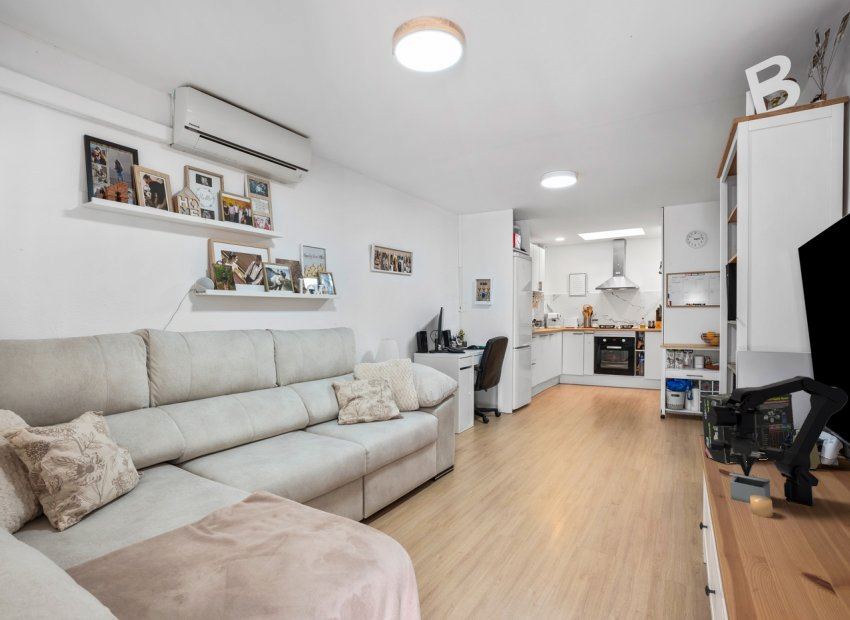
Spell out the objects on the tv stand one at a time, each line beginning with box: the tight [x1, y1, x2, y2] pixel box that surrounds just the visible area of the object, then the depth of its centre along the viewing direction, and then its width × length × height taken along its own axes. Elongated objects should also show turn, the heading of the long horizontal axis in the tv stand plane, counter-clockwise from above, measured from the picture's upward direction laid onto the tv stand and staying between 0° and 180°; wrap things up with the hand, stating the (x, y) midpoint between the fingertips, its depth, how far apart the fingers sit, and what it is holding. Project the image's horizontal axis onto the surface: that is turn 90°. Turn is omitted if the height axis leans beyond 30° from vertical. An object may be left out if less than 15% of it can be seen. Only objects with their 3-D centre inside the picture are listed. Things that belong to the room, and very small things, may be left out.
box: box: [729, 476, 772, 504], centre depth 139 cm, size 9×9×6 cm
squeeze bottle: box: [793, 420, 820, 470], centre depth 165 cm, size 8×8×18 cm
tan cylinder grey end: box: [750, 495, 774, 519], centre depth 128 cm, size 5×5×5 cm
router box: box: [700, 392, 795, 464], centre depth 180 cm, size 36×11×27 cm, turn 99°
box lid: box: [728, 472, 771, 482], centre depth 139 cm, size 9×9×1 cm
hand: (746, 476), depth 137 cm, fingers closed, pressing on box lid
